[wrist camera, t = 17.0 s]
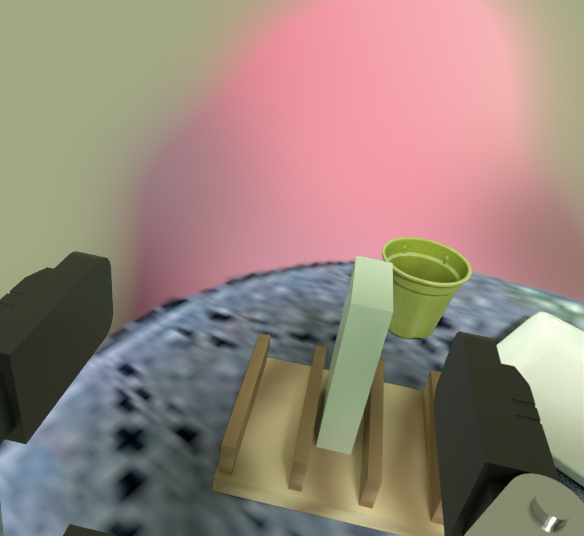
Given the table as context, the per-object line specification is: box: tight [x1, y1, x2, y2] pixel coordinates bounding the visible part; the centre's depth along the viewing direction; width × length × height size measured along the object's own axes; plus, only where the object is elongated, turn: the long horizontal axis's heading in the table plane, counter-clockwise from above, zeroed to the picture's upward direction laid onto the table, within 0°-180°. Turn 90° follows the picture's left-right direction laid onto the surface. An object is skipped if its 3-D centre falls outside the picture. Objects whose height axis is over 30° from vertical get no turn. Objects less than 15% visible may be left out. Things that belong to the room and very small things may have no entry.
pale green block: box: [316, 256, 393, 455], centre depth 41 cm, size 3×6×14 cm, turn 171°
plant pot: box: [382, 237, 472, 339], centre depth 59 cm, size 9×9×9 cm
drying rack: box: [212, 333, 445, 536], centre depth 44 cm, size 17×14×4 cm
